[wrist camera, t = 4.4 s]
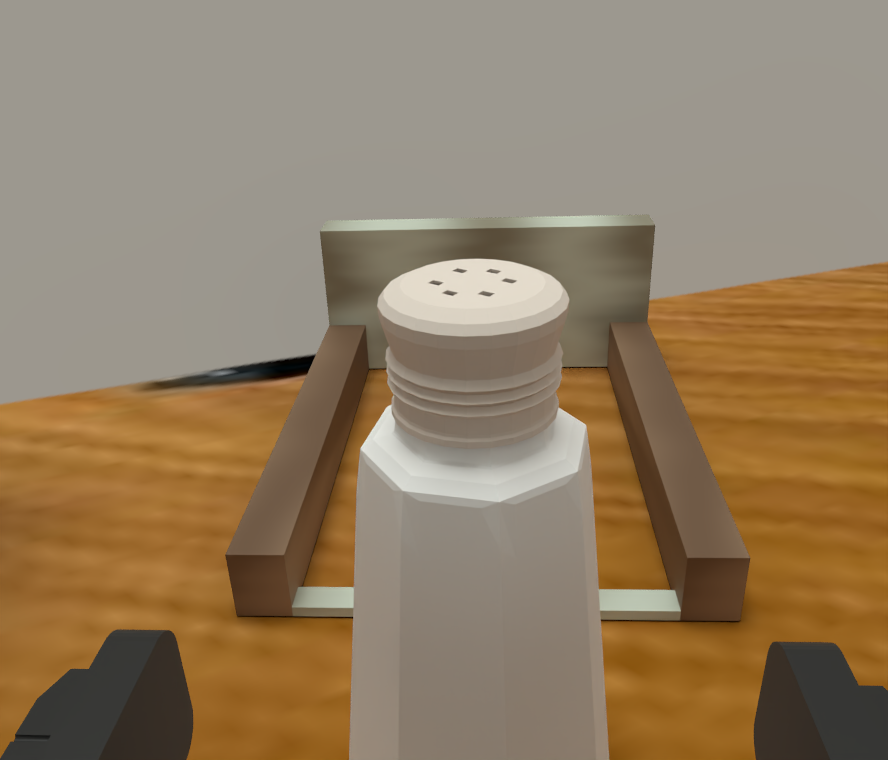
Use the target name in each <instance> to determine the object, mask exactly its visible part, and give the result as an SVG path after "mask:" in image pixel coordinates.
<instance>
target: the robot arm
mask: <svg viewBox="0 0 888 760" xmlns="http://www.w3.org/2000/svg"><path fill="white" fill-rule="evenodd" d="M192 732H193V709H192V704H191V700H190V696H189V691H188V687H187V683H186V679H185V674H184V670H183V666H182V662H181V657H180V653H179V649H178V645H177V641H176V638H175V635H174V634H173V633H172V632H171V631H169V630H114V631H113V632H111V633H110V635H109V636H108V637H107V638H106V640H105V642H104V643H103V645H102V647H101V649H100V650H99V652H98V654H97V656H96V657H95V659H94V661H93V663H92V664H91V666H90V668H89V669H70V670H69V671H68V672H67V673H66V674H65V675H64V676H62V677H61V678H60V679H59V680H58V681H57V682H56V683H55V684H53V685H52V686H51V687H50V688H49V689H48V690H47V691H46V692H45V693H43V694H42V695H41V696H40V697H39V698H38V699H37V700H36V702H35V703H34V705H33V707H32V708H31V710H30V711H29V713H28V715H27V716H26V718H25V720H24V721H23V723H22V724H21V726H20V728H19V729H18V731H17V732H16V734H15V740H14V742H10V744H9V745H8V747H7V749H6V750H5V752H4V753H3V755H2V757H1V758H0V760H186V759H187V756H188V753H189V749H190V745H191V739H192ZM754 747H755V755H756V760H888V691H887V690H886V689H885V688H884V687H883V686H859V685H858V683H857V681H856V679H855V677H854V675H853V673H852V671H851V669H850V667H849V665H848V663H847V661H846V659H845V657H844V655H843V654H842V652H841V650H840V649H839V648H838V646H837V645H835V644H834V643H824V642H773V643H772V644H771V645H770V648H769V651H768V655H767V660H766V665H765V670H764V675H763V681H762V686H761V691H760V696H759V701H758V706H757V712H756V717H755V723H754Z"/></svg>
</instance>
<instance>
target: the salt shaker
mask: <svg viewBox="0 0 888 760" xmlns="http://www.w3.org/2000/svg"><path fill="white" fill-rule="evenodd" d="M377 309H378V316H379V321H380V323H381V326H382V328H383V331H384V334H385V336H386V339H387V342H388V344H389V347H388V348H387V349H386V358H385V360H386V362H387V370H386V372H387V374H388V381H387V383H388V385H389V387H390V389H391V391H392V393H393V394H394V395H393V397H392V405H390V406H388V407H387V408H386V409H385V411H384V412H383V414H382V416H381V417H380V419H379V420H378V422H377V423H376V425H375V427H374V428H373V430H372V431H371V433H370V434H369V436H368V438H367V439H366V441H365V442H364V444H363V445H362V447H361V448H360V458H359V469H358V480H357V495H356V532H355V568H354V605H353V642H352V678H351V715H350V752H349V760H609V749H608V733H607V716H606V700H605V684H604V667H603V651H602V635H601V618H600V602H599V586H598V569H597V553H596V537H595V520H594V504H593V488H592V471H591V459H590V451H589V443H588V435H587V427H586V425H585V424H584V423H582V422H581V421H579V420H577V419H576V418H574V417H573V416H571V415H570V414H568V413H566V412H565V411H563V410H562V409H560V408H559V401H558V397H557V394H556V390H557V389H558V387H559V386H560V382H561V378H562V375H561V369H562V362H561V359H562V355H563V351H562V348H561V345H560V343H559V339H560V336H561V333H562V330H563V327H564V324H565V321H566V318H567V314H568V309H569V297H568V294H567V292H566V290H565V289H564V287H563V286H562V285H561V284H560V282H559V281H557V280H556V279H555V278H554V277H552V276H551V275H549V274H547V273H545V272H542V271H540V270H538V269H535V268H532V267H529V266H526V265H522V264H518V263H514V262H509V261H502V260H495V259H459V260H451V261H443V262H439V263H434V264H430V265H426V266H423V267H421V268H418V269H415V270H412V271H410V272H407V273H405V274H402V275H401V276H399V277H397V278H396V279H394V280H392V281H391V282H390V283H389V284H388V285H387V286H386V288H385V289H384V290H383V291H382V293H381V294H380V296H379V297H378V304H377Z"/></svg>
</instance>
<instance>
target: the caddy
mask: <svg viewBox="0 0 888 760" xmlns="http://www.w3.org/2000/svg"><path fill="white" fill-rule="evenodd" d="M654 232H655V224H654V223H653V221H652V220H651V218H650V216H649V215H608V216H559V217H558V216H556V217H504V218H451V219H397V220H350V221H349V220H345V221H326V223H325V224H324V226H323V227H322V229H321V231H320V236H321V246H322V256H323V265H324V275H325V284H326V295H327V303H328V314H329V324H330V326H329V328H328V330H327V332H326V334H325V337H324V339H323V341H322V344H321V346H320V348H319V350H318V352H317V354H316V356H315V359H314V361H313V363H312V365H311V367H310V370H309V372H308V374H307V376H306V378H305V381H304V383H303V385H302V387H301V390H300V392H299V394H298V396H297V398H296V401H295V403H294V405H293V407H292V409H291V412H290V414H289V416H288V418H287V420H286V423H285V425H284V427H283V429H282V431H281V434H280V436H279V438H278V440H277V442H276V445H275V447H274V449H273V451H272V453H271V456H270V458H269V460H268V462H267V464H266V467H265V469H264V471H263V473H262V475H261V478H260V480H259V482H258V484H257V486H256V489H255V491H254V493H253V495H252V497H251V500H250V502H249V504H248V506H247V508H246V511H245V513H244V515H243V517H242V519H241V522H240V524H239V526H238V528H237V530H236V533H235V535H234V537H233V539H232V541H231V544H230V546H229V548H228V550H227V552H226V560H227V566H228V571H229V576H230V582H231V587H232V592H233V598H234V603H235V608H236V613H237V616H323V617H353V605H354V587H302V585H303V582H304V579H305V576H306V572H307V569H308V566H309V563H310V559H311V556H312V553H313V550H314V546H315V543H316V540H317V537H318V533H319V530H320V527H321V524H322V520H323V517H324V514H325V510H326V507H327V504H328V501H329V497H330V494H331V491H332V488H333V484H334V481H335V478H336V475H337V471H338V468H339V465H340V462H341V458H342V455H343V452H344V449H345V445H346V442H347V439H348V436H349V432H350V429H351V426H352V423H353V419H354V416H355V413H356V410H357V406H358V403H359V400H360V397H361V393H362V390H363V387H364V383H365V380H366V377H367V374H368V370H369V368H387V362H386V360H385V358H386V349H387V348H388V347H389V344H388V342H387V339H386V336H385V334H384V331H383V328H382V326H381V323H380V321H379V316H378V309H377V304H378V297H379V296H380V294H381V293H382V291H383V290H384V289H385V288H386V286H387V285H388V284H389V283H390V282H391V281H392V280H394V279H396V278H397V277H399V276H401V275H402V274H405V273H407V272H410V271H412V270H415V269H418V268H421V267H423V266H426V265H430V264H434V263H439V262H443V261H451V260H459V259H495V260H502V261H509V262H514V263H518V264H522V265H526V266H529V267H532V268H535V269H538V270H540V271H542V272H545V273H547V274H549V275H551V276H552V277H554V278H555V279H556V280H557V281H559V282H560V284H561V285H562V286H563V287H564V289H565V290H566V292H567V294H568V297H569V309H568V314H567V318H566V321H565V324H564V327H563V330H562V333H561V336H560V339H559V343H560V345H561V348H562V351H563V355H562V359H561V362H562V367H607V368H608V371H609V375H610V378H611V382H612V385H613V389H614V392H615V396H616V399H617V403H618V406H619V410H620V413H621V417H622V420H623V424H624V427H625V431H626V434H627V438H628V441H629V445H630V448H631V452H632V455H633V459H634V462H635V466H636V469H637V473H638V476H639V479H640V483H641V486H642V490H643V493H644V497H645V500H646V504H647V507H648V511H649V514H650V518H651V521H652V525H653V528H654V532H655V535H656V539H657V542H658V546H659V549H660V553H661V556H662V560H663V563H664V567H665V570H666V574H667V577H668V581H669V584H670V588H671V590H605V589H599V602H600V618H601V620H688V621H740V617H741V611H742V605H743V599H744V593H745V587H746V581H747V575H748V568H749V562H750V557H749V554H748V552H747V550H746V547H745V545H744V543H743V540H742V538H741V536H740V534H739V531H738V529H737V527H736V524H735V522H734V520H733V518H732V515H731V513H730V511H729V508H728V506H727V504H726V501H725V499H724V497H723V495H722V492H721V490H720V488H719V485H718V483H717V481H716V479H715V476H714V474H713V472H712V469H711V467H710V465H709V462H708V460H707V458H706V456H705V453H704V451H703V449H702V446H701V444H700V442H699V439H698V437H697V435H696V433H695V430H694V428H693V426H692V423H691V421H690V419H689V417H688V414H687V412H686V410H685V407H684V405H683V403H682V400H681V398H680V396H679V394H678V391H677V389H676V387H675V384H674V382H673V380H672V378H671V375H670V373H669V371H668V368H667V366H666V364H665V361H664V359H663V357H662V355H661V352H660V350H659V348H658V345H657V343H656V341H655V339H654V336H653V334H652V332H651V329H650V327H649V325H648V322H647V318H648V306H649V294H650V282H651V281H650V280H651V269H652V257H653V245H654Z"/></svg>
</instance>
